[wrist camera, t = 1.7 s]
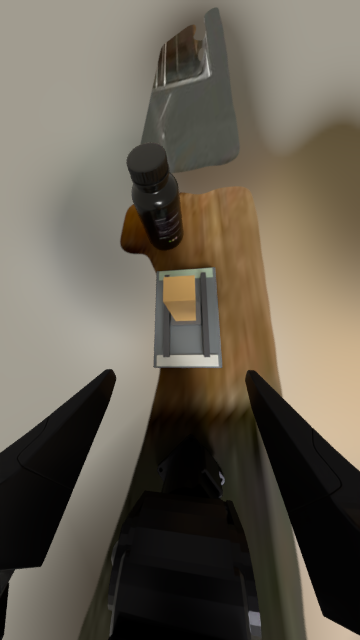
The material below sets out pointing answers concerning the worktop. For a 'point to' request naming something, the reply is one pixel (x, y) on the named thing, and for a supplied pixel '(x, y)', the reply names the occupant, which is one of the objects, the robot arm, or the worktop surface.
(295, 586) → the worktop surface
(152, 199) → the supplement bottle
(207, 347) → the grey rail base
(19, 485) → the robot arm
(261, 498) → the worktop surface
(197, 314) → the handle
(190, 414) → the worktop surface
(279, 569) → the worktop surface
